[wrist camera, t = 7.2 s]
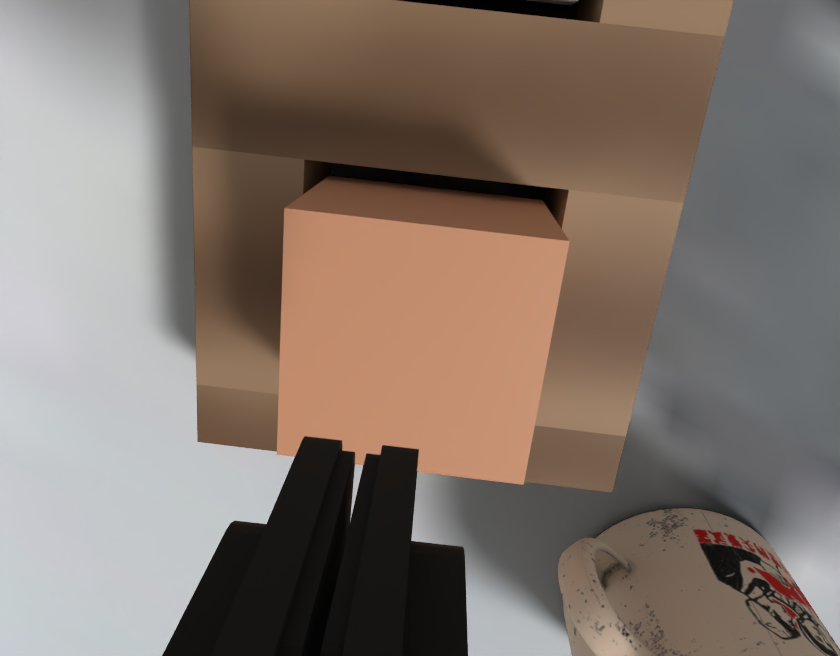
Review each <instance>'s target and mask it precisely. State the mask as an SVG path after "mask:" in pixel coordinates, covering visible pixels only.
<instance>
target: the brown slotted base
mask: <svg viewBox="0 0 840 656" xmlns="http://www.w3.org/2000/svg"><path fill="white" fill-rule="evenodd" d="M733 1H734V0H579V4H578V10H577V16H576V20H570V19H561V18H552V17H543V16H534V15H524V14H515V13H506V12H497V11H488V10H479V9H470V8H461V7H451V6H442V5H433V4H424V3H415V2H406V1H397V0H189V3H190V56H191V110H192V163H193V217H194V270H195V323H196V377H197V430H198V442H204V443H213V444H221V445H229V446H237V447H245V448H253V449H261V450H269V451H277V430H278V398H279V365H280V332H281V300H282V267H283V235H284V208H285V207H287V206H288V205H289V204H291V203H292V202H293V201H295V200H296V199H298V198H299V197H300V196H302V195H303V194H305V193H306V192H307V191H309V190H310V189H312V188H313V187H314V186H316V185H317V184H318V183H320V182H321V181H323V180H324V179H325V178H327V177H328V176H331V163H339V164H348V165H356V166H365V167H374V168H383V169H391V170H400V171H409V172H418V173H426V174H435V175H444V176H452V177H461V178H470V179H479V180H487V181H496V182H505V183H514V184H522V185H531V186H540V187H547V191H546V197H545V202H544V203H545V205H546V206H547V208H548V209H549V211H550V212H551V214H552V215H553V217H554V218H555V220H556V221H557V223H558V224H559V226H560V227H561V229H562V230H563V232H564V233H565V235H566V236H567V238H568V239H569V241H570V242H569V247H568V253H567V258H566V263H565V269H564V274H563V279H562V284H561V290H560V295H559V300H558V306H557V311H556V316H555V321H554V327H553V332H552V337H551V343H550V348H549V353H548V358H547V364H546V369H545V374H544V380H543V385H542V390H541V395H540V401H539V406H538V411H537V417H536V422H535V427H534V432H533V438H532V443H531V448H530V454H529V459H528V464H527V469H526V475H525V480H524V482H529V483H537V484H545V485H554V486H562V487H570V488H578V489H586V490H594V491H602V492H610V493H612V491H613V487H614V483H615V479H616V475H617V471H618V467H619V463H620V459H621V455H622V451H623V447H624V443H625V439H626V434H627V430H628V426H629V422H630V418H631V414H632V410H633V406H634V402H635V398H636V394H637V390H638V386H639V382H640V378H641V374H642V370H643V366H644V362H645V358H646V353H647V349H648V345H649V341H650V337H651V333H652V329H653V325H654V321H655V317H656V313H657V309H658V305H659V301H660V297H661V293H662V289H663V285H664V281H665V277H666V272H667V268H668V264H669V260H670V256H671V252H672V248H673V244H674V240H675V236H676V232H677V228H678V224H679V220H680V216H681V212H682V208H683V204H684V200H685V196H686V192H687V187H688V183H689V179H690V175H691V171H692V167H693V163H694V159H695V155H696V151H697V147H698V143H699V139H700V135H701V131H702V127H703V123H704V119H705V115H706V111H707V106H708V102H709V98H710V94H711V90H712V86H713V82H714V78H715V74H716V70H717V66H718V62H719V58H720V54H721V50H722V46H723V42H724V38H725V34H726V30H727V26H728V21H729V17H730V13H731V9H732V5H733Z"/></svg>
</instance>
